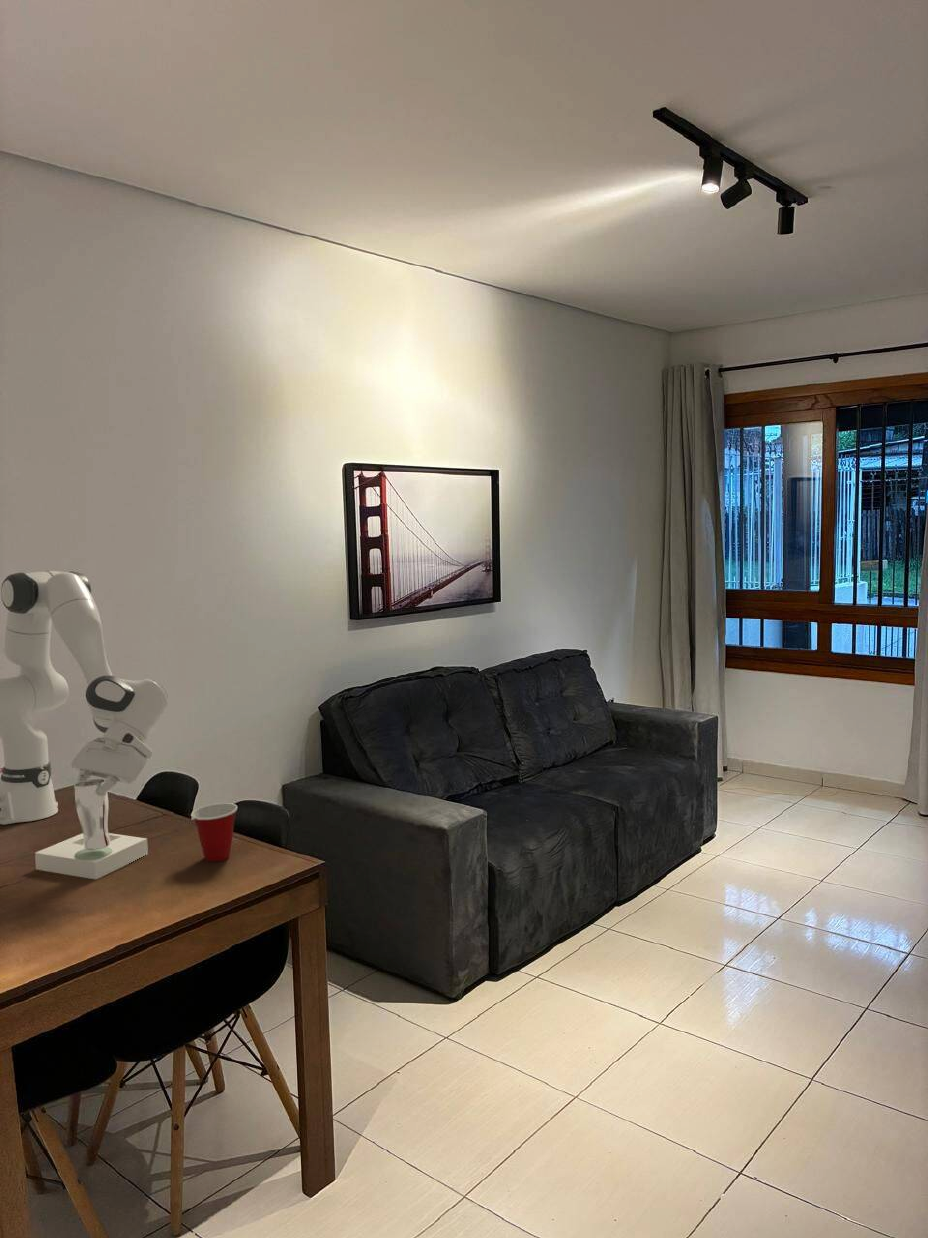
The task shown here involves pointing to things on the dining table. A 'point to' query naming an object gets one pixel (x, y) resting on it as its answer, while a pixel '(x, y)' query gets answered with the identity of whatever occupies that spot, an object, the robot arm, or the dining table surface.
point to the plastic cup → (215, 829)
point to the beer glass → (92, 814)
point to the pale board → (90, 856)
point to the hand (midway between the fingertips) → (87, 792)
